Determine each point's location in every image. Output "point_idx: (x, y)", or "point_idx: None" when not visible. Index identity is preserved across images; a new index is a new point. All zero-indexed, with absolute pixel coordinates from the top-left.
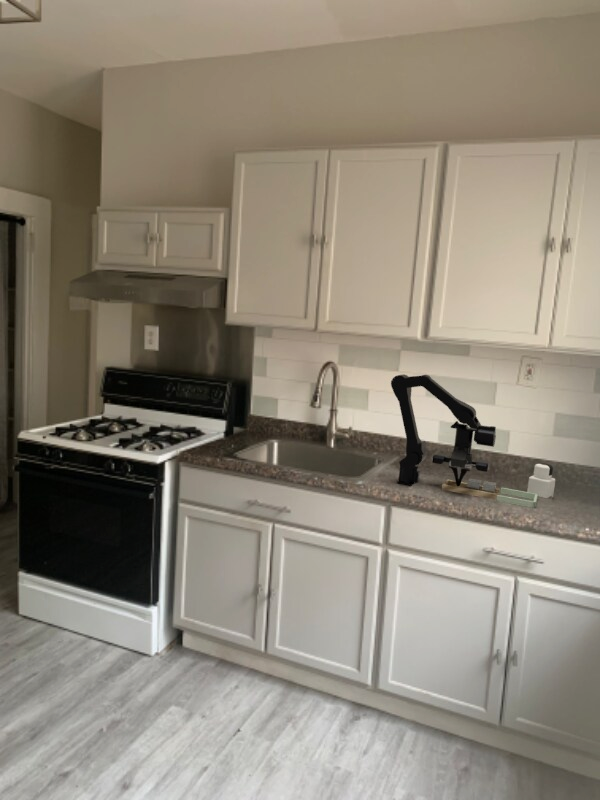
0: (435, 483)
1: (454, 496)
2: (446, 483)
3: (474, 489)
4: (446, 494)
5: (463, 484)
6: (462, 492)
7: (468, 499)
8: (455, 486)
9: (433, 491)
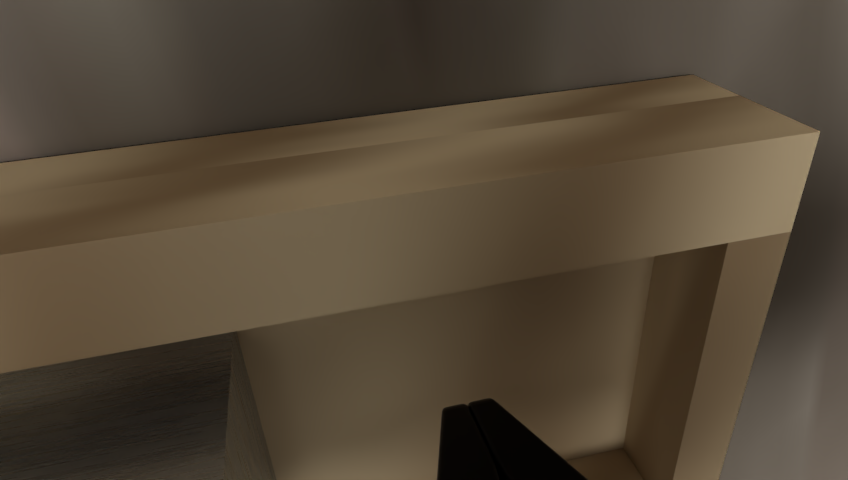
0: (764, 466)
1: (409, 9)
2: (716, 323)
3: (23, 426)
4: (588, 34)
5: None
6: (268, 166)
7: (41, 8)
8: (501, 258)
9: (831, 48)
